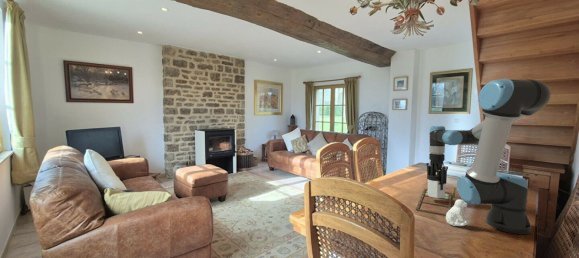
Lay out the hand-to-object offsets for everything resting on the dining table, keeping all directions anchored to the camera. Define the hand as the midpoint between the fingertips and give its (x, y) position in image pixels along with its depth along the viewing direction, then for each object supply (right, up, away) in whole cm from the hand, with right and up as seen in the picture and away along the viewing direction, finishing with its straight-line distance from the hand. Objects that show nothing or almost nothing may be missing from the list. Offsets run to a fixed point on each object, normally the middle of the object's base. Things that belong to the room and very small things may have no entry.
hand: (436, 194), depth 143 cm
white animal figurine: (-9, -6, -31) cm, 33 cm away
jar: (0, -1, 0) cm, 1 cm away
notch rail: (0, -4, +1) cm, 4 cm away
